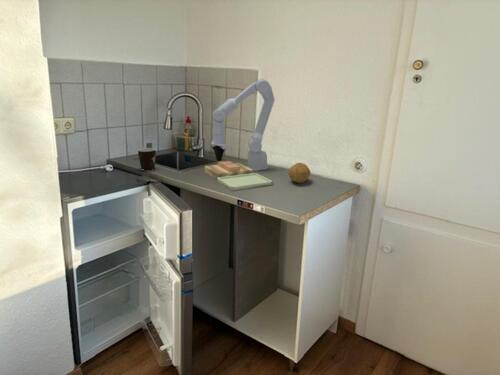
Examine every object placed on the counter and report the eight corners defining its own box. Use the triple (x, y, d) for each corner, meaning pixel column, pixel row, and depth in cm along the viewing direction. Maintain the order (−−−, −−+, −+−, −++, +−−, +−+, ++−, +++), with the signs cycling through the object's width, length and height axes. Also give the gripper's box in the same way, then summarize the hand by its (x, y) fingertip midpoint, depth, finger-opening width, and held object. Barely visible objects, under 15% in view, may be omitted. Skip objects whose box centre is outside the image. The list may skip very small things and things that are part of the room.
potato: (285, 185, 168) (286, 167, 166) (290, 177, 181) (291, 160, 179) (307, 187, 166) (308, 169, 163) (311, 178, 179) (312, 162, 176)
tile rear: (228, 164, 190) (228, 160, 190) (234, 167, 185) (234, 163, 185) (217, 165, 188) (217, 161, 187) (222, 168, 182) (222, 164, 182)
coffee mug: (149, 166, 196) (147, 147, 194) (160, 169, 192) (159, 149, 189) (130, 170, 187) (128, 150, 184) (141, 173, 183) (140, 153, 180)
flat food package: (237, 168, 196) (237, 162, 195) (252, 175, 182) (252, 169, 181) (204, 172, 187) (204, 166, 186) (217, 180, 174) (217, 173, 173)
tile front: (234, 167, 184) (234, 163, 184) (240, 170, 179) (240, 166, 179) (223, 169, 182) (223, 164, 181) (228, 171, 177) (228, 167, 176)
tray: (255, 176, 182) (255, 172, 181) (273, 184, 168) (273, 181, 168) (216, 181, 173) (216, 177, 172) (231, 190, 159) (231, 187, 159)
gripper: (205, 132, 193) (206, 158, 197) (217, 136, 181) (217, 164, 185) (218, 131, 196) (218, 157, 200) (230, 135, 184) (230, 163, 188)
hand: (219, 160), depth 193 cm, fingers closed
